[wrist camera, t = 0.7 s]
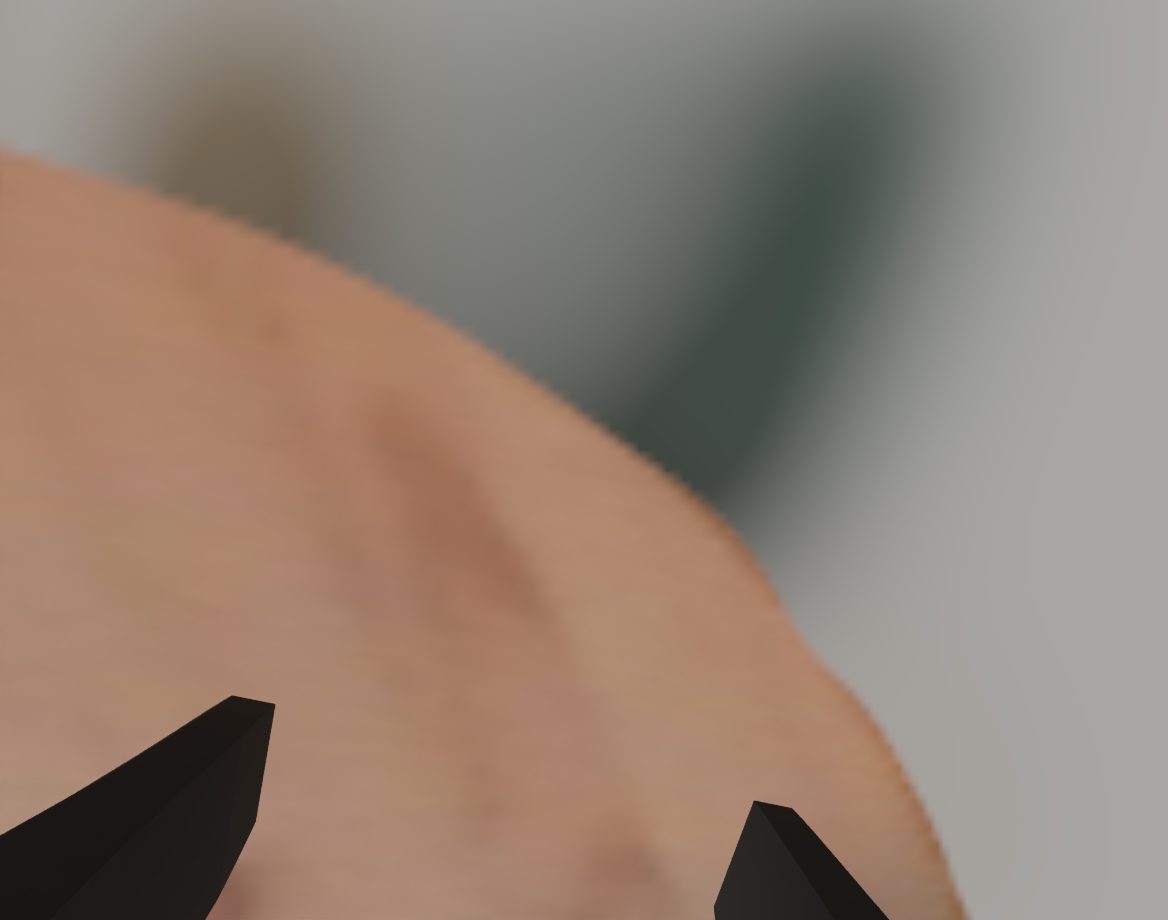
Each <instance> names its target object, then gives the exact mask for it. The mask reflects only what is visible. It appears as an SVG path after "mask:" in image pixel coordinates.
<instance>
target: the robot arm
mask: <svg viewBox="0 0 1168 920" xmlns="http://www.w3.org/2000/svg"><path fill="white" fill-rule="evenodd" d="M274 710H275V704H272V703H267V702H262V701H257V700H252V699H247V698H242V697H237V696H230V697H229V698H227V699H225V700H223V701H222V702H220V703H219V704H217V705H215V706H214V707H212V708H211V709H209V710H207V711H206V712H204V713H203V714H201V715H200V716H198V717H196V718H195V719H193V720H192V721H190V722H189V723H187V724H186V725H184V726H182V727H181V728H179V729H178V730H176V731H175V732H173V733H172V734H170V735H168V736H167V737H165V738H164V739H162V740H161V741H159V742H157V743H156V744H154V745H153V746H151V747H150V748H148V749H146V750H145V751H143V752H142V753H140V754H139V755H137V756H135V757H134V758H132V759H130V760H129V761H127V762H126V763H124V764H122V765H121V766H119V767H117V768H116V769H114V770H112V771H111V772H109V773H107V774H106V775H104V776H103V777H101V778H99V779H98V780H96V781H94V782H93V783H91V784H89V785H88V786H86V787H85V788H83V789H81V790H80V791H78V792H76V793H75V794H73V795H71V796H69V797H68V798H66V799H64V800H63V801H61V802H59V803H57V804H55V805H54V806H52V807H50V808H48V809H47V810H45V811H43V812H41V813H39V814H38V815H36V816H34V817H32V818H31V819H29V820H27V821H25V822H23V823H22V824H20V825H18V826H16V827H15V828H13V829H11V830H9V831H7V832H6V833H4V834H2V835H0V920H205V919H206V917H207V916H208V914H209V912H210V911H211V909H212V907H213V906H214V904H215V903H216V901H217V899H218V897H219V895H220V893H221V891H222V890H223V888H224V886H225V884H226V882H227V880H228V878H229V876H230V874H231V872H232V870H233V868H234V866H235V864H236V862H237V860H238V858H239V855H240V853H241V851H242V849H243V847H244V845H245V843H246V841H247V839H248V837H249V835H250V833H251V831H252V829H253V827H254V824H255V822H256V817H257V811H258V805H259V799H260V793H261V787H262V781H263V775H264V769H265V763H266V757H267V751H268V745H269V739H270V733H271V727H272V722H273V716H274ZM714 913H715V920H889V919H888V918H887V917H886V915H885V914H884V913H883V912H882V911H881V910H880V908H879V907H878V906H877V905H876V904H875V903H874V902H873V900H872V899H871V898H870V897H869V896H868V895H867V893H866V892H865V891H864V890H863V889H862V888H861V886H860V885H859V884H858V883H857V882H856V881H855V879H854V878H853V877H852V876H851V875H850V874H849V872H848V871H847V870H846V869H845V868H844V866H843V865H842V864H841V863H840V862H839V861H838V859H837V858H836V857H835V856H834V855H833V854H832V852H831V851H830V850H829V849H828V848H827V847H826V845H825V844H824V843H823V842H822V841H821V840H820V839H819V837H818V836H817V835H816V834H815V833H814V832H813V831H812V829H811V828H810V827H809V826H808V825H807V824H806V823H805V822H804V820H803V819H802V818H801V817H800V816H799V815H798V814H797V813H796V812H795V811H794V810H793V809H792V808H789V807H784V806H779V805H774V804H769V803H764V802H759V801H754V802H753V804H752V807H751V810H750V812H749V815H748V818H747V820H746V823H745V826H744V828H743V831H742V834H741V836H740V839H739V841H738V844H737V847H736V849H735V852H734V855H733V857H732V860H731V863H730V865H729V868H728V871H727V873H726V876H725V879H724V881H723V884H722V886H721V889H720V892H719V894H718V897H717V900H716V902H715V905H714Z"/></svg>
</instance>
